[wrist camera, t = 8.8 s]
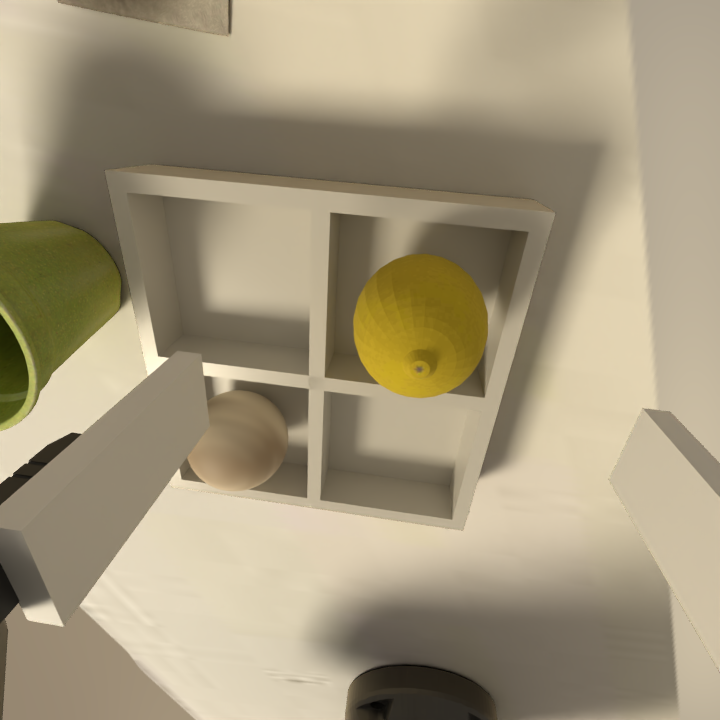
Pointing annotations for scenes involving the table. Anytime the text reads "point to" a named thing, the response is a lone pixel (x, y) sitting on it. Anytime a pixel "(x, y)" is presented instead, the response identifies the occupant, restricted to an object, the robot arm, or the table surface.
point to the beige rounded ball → (240, 442)
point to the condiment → (167, 12)
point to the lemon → (420, 326)
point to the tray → (325, 322)
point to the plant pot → (47, 305)
